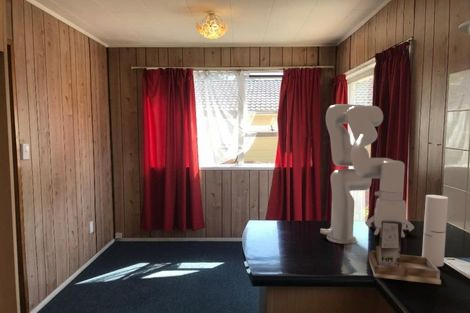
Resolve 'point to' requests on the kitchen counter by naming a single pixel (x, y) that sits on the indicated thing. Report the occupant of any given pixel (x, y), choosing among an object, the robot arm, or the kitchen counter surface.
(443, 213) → the cylindrical container
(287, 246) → the kitchen counter surface
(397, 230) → the coffee box
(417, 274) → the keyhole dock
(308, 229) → the kitchen counter surface
